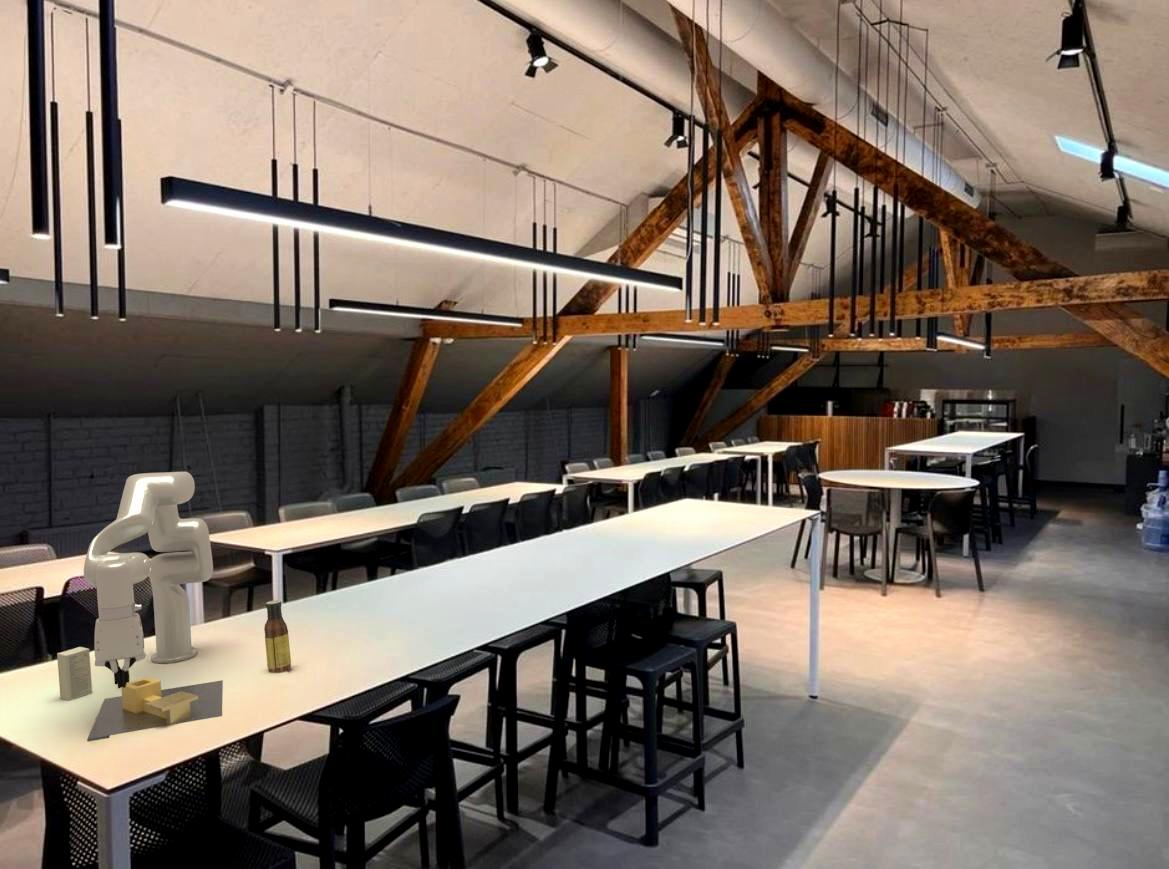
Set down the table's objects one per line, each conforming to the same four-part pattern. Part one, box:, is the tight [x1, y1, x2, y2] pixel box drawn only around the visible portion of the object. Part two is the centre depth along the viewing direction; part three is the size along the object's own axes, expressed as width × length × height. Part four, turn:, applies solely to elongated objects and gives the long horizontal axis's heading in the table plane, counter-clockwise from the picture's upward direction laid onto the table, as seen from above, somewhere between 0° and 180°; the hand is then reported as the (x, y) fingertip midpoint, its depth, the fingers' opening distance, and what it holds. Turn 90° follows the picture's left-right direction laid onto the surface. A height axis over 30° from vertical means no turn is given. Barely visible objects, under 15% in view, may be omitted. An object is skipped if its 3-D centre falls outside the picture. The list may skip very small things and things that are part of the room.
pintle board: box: [86, 680, 224, 742], centre depth 202 cm, size 29×28×6 cm
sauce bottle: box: [264, 599, 292, 674], centre depth 228 cm, size 6×6×20 cm
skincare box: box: [56, 646, 93, 701], centre depth 214 cm, size 6×4×12 cm
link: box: [120, 676, 167, 719], centre depth 200 cm, size 18×6×6 cm, turn 57°
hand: (122, 685), depth 196 cm, fingers closed
